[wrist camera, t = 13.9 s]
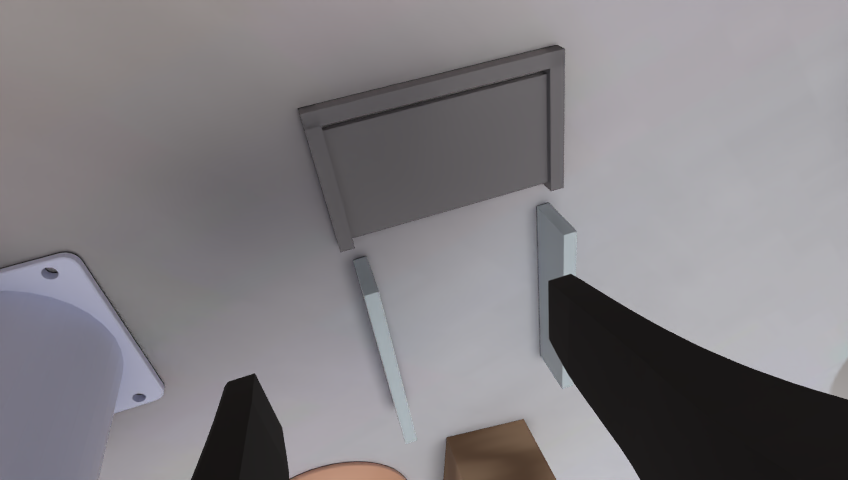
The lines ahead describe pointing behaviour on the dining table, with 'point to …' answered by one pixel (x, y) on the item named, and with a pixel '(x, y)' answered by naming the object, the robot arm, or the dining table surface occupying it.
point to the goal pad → (352, 472)
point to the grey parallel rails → (552, 263)
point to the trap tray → (439, 142)
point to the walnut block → (496, 455)
